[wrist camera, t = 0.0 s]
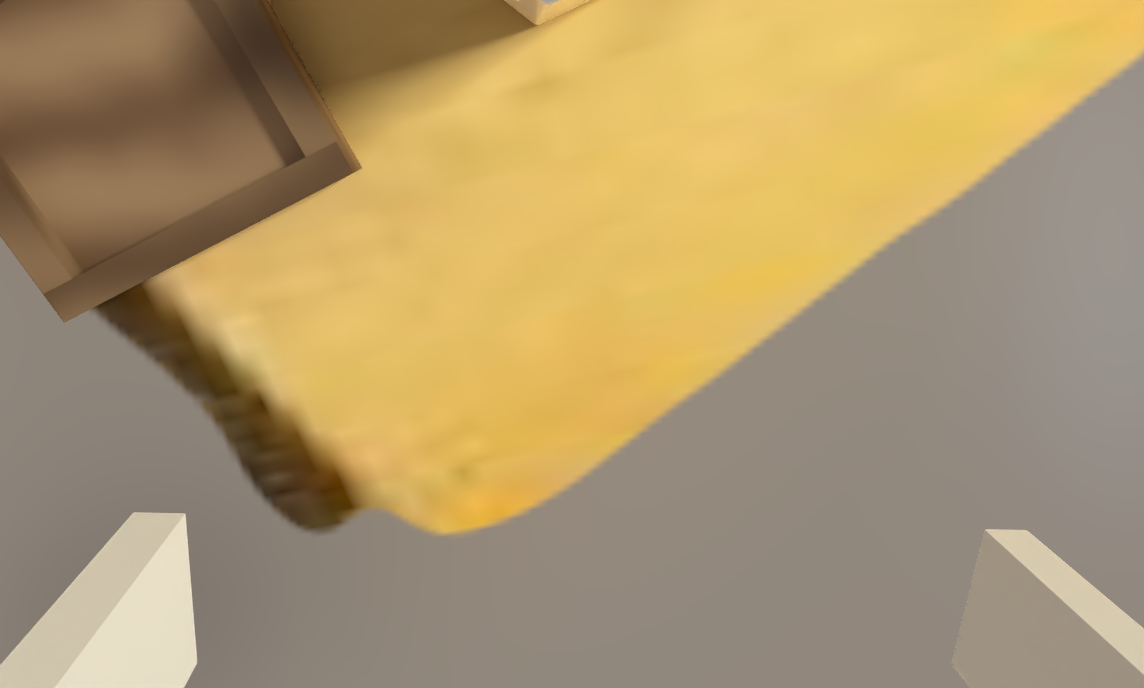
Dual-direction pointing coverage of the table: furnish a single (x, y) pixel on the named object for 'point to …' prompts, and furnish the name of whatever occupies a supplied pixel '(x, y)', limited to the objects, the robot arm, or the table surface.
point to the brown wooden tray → (149, 136)
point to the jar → (544, 8)
